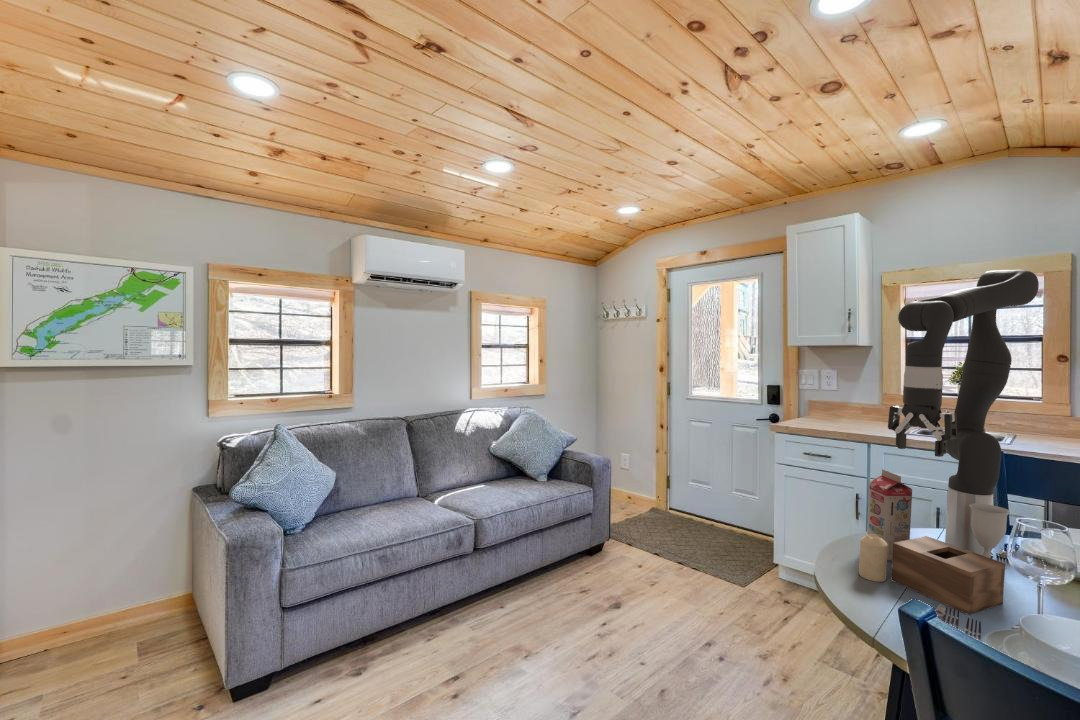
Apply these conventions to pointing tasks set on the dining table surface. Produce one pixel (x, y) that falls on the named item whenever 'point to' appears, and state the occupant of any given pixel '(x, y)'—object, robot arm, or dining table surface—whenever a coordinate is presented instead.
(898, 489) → the juice carton
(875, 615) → the dining table surface
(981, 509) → the chalice
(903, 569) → the box
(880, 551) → the candle
